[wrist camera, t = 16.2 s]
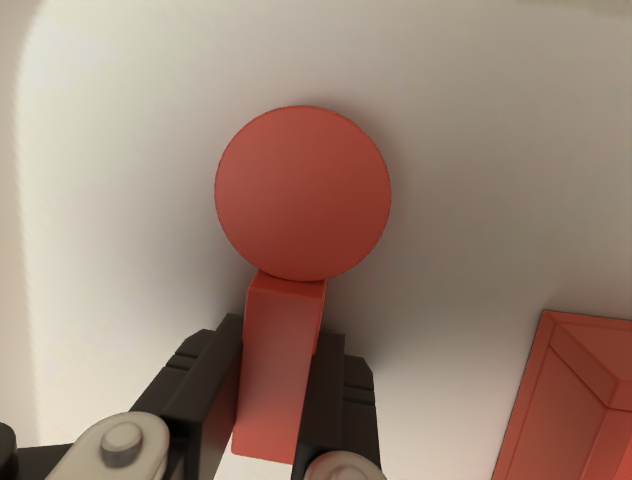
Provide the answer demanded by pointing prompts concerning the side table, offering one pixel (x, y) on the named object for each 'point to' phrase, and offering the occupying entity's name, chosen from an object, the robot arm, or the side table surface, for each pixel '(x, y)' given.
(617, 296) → the side table surface
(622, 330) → the red tray
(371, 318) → the side table surface
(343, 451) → the robot arm
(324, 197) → the red spoon
